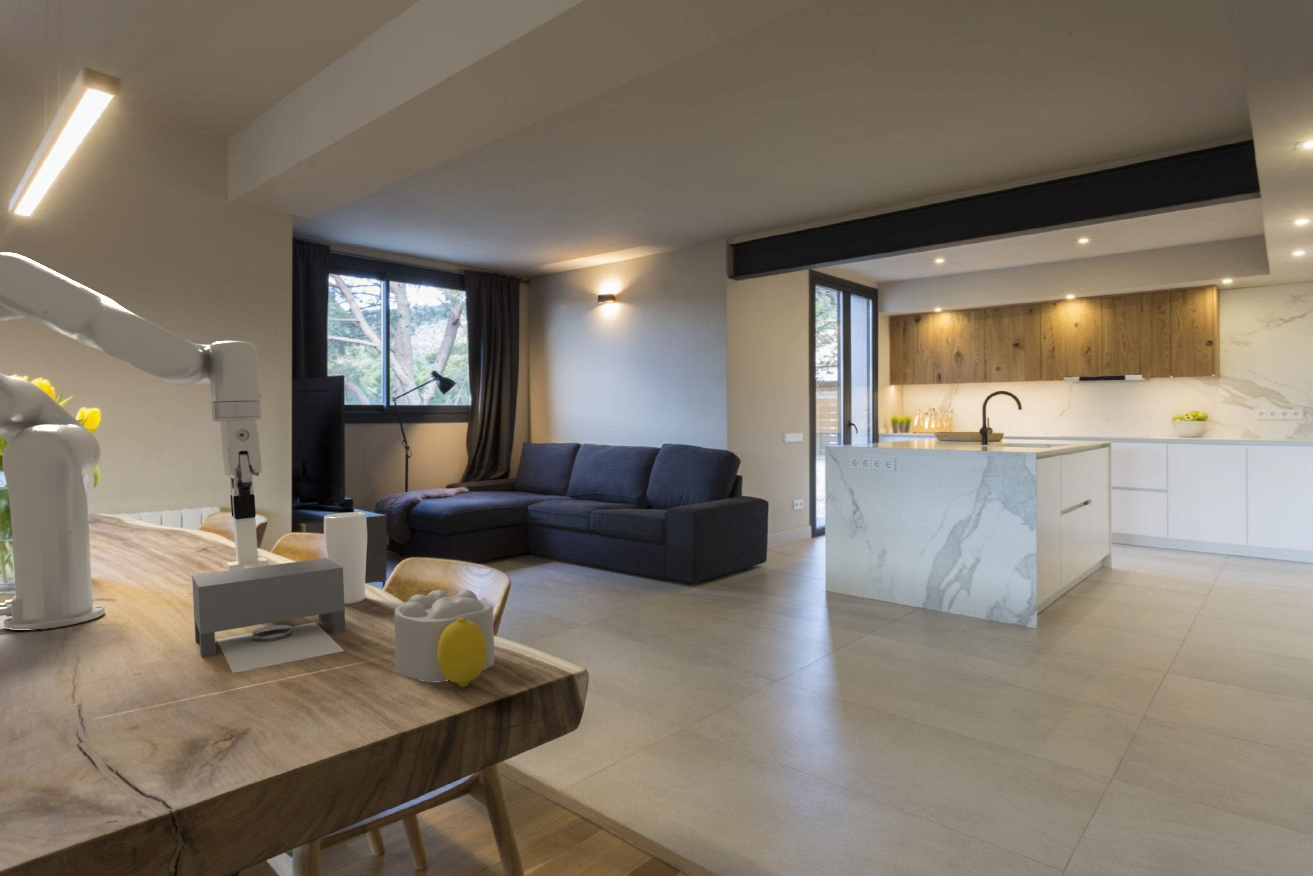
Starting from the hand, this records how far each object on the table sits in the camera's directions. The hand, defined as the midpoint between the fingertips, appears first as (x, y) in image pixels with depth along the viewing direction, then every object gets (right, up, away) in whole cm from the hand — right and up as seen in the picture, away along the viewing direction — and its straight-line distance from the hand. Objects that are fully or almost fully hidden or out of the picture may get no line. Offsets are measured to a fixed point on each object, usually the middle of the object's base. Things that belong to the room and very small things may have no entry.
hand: (243, 516), depth 128 cm
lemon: (+50, -15, -45) cm, 69 cm away
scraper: (+6, -9, -7) cm, 13 cm away
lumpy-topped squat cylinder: (+45, -15, -36) cm, 60 cm away
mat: (+20, -15, -27) cm, 37 cm away
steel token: (+17, -15, -23) cm, 32 cm away
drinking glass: (+20, -15, -3) cm, 25 cm away
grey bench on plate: (+17, -15, -22) cm, 32 cm away
